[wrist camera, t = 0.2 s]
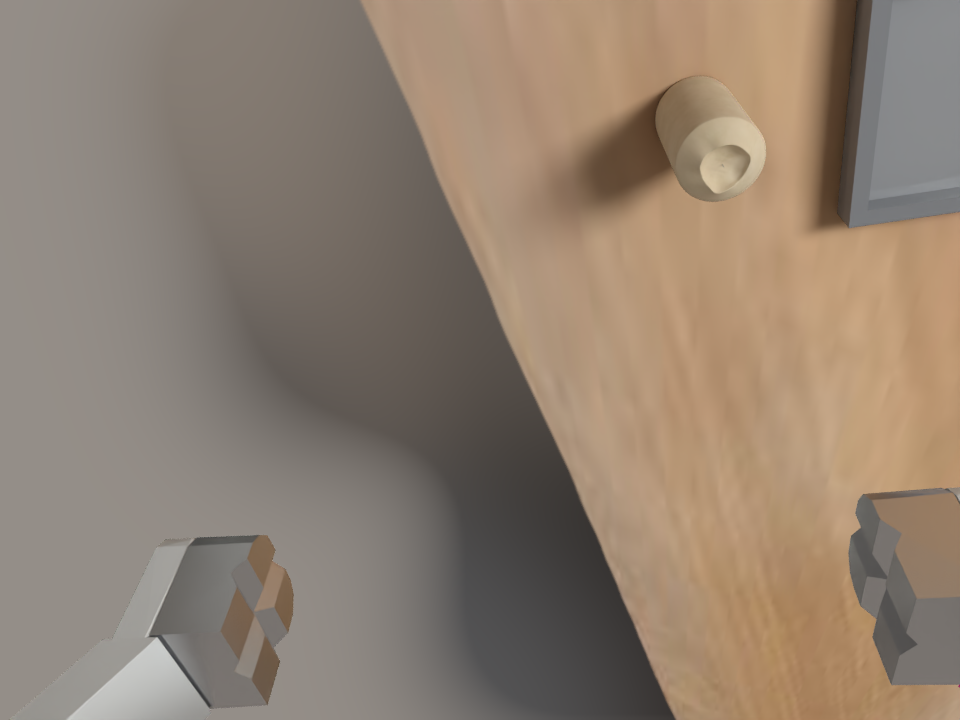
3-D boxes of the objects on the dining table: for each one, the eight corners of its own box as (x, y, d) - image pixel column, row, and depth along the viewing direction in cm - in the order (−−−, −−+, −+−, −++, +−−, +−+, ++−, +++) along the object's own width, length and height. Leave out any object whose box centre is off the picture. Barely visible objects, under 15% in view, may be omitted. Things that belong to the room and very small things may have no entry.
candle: (712, 160, 57) (746, 221, 48) (642, 140, 56) (664, 198, 48) (747, 87, 53) (790, 139, 45) (673, 64, 53) (703, 113, 45)
